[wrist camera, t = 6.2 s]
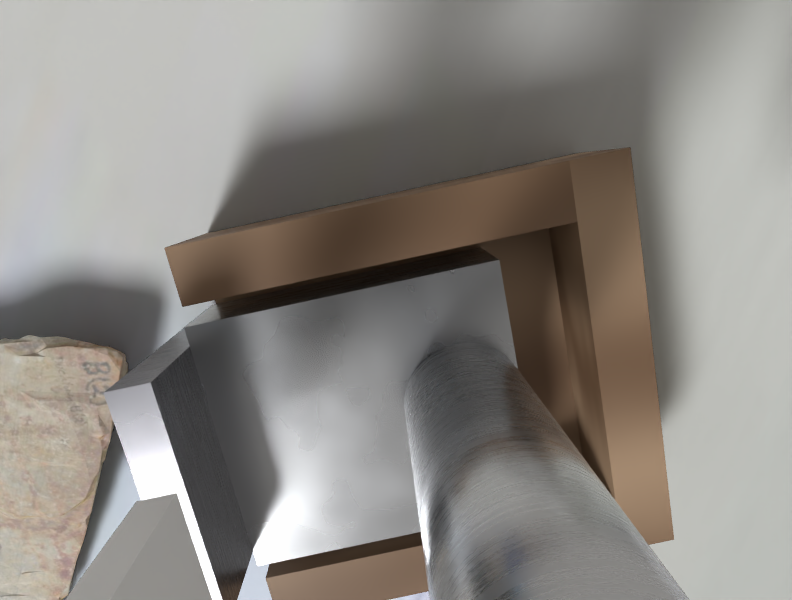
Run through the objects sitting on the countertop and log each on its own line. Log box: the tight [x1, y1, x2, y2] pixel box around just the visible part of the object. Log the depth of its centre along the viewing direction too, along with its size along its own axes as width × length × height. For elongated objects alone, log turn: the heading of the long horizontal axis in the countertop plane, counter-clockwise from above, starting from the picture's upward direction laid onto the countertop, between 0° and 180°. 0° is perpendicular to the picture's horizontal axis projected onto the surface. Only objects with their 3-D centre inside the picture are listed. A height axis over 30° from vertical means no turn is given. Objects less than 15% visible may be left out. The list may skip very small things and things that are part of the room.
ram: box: [104, 247, 689, 600], centre depth 10 cm, size 7×9×14 cm
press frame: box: [165, 147, 674, 600], centre depth 16 cm, size 11×12×4 cm
